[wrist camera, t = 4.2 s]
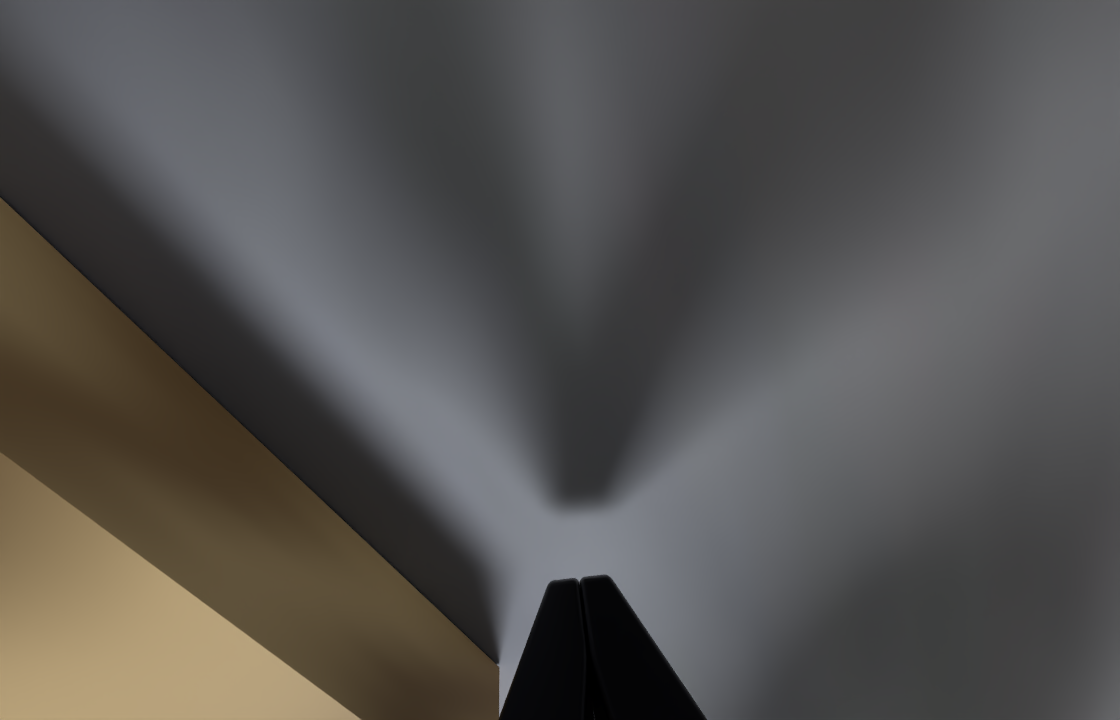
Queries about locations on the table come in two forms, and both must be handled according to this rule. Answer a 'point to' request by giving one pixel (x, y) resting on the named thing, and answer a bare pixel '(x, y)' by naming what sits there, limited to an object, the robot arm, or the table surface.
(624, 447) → the table surface
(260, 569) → the plank
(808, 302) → the table surface
